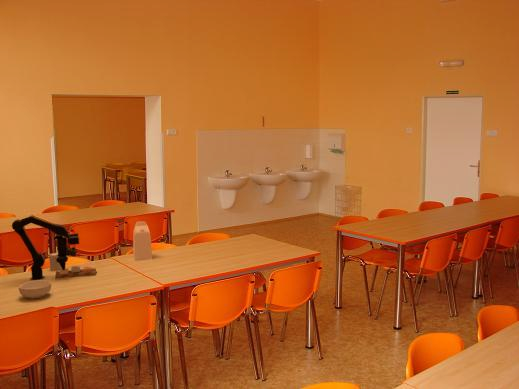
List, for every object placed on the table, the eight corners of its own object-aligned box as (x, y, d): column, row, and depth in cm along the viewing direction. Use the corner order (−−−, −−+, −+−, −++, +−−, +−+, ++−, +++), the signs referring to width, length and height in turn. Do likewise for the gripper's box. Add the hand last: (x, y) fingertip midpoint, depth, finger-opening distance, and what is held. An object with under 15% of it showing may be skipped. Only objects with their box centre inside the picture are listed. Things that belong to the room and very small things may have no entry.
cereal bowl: (12, 299, 302) (11, 287, 301) (34, 290, 317) (34, 278, 316) (37, 302, 296) (36, 289, 295) (58, 293, 311) (57, 281, 310)
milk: (150, 255, 396) (148, 219, 392) (152, 258, 385) (150, 222, 381) (133, 256, 392) (131, 221, 388) (135, 260, 381) (133, 223, 378)
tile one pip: (59, 275, 343) (59, 271, 343) (60, 273, 348) (60, 269, 348) (68, 274, 344) (67, 270, 344) (68, 272, 349) (68, 268, 349)
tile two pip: (71, 272, 345) (71, 268, 344) (71, 270, 350) (71, 266, 349) (79, 271, 346) (79, 267, 346) (80, 269, 351) (79, 265, 351)
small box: (61, 267, 368) (59, 251, 367) (65, 268, 365) (64, 253, 363) (49, 269, 362) (48, 254, 361) (54, 271, 358) (53, 255, 357)
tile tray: (55, 278, 340) (55, 275, 340) (56, 274, 350) (56, 271, 350) (95, 275, 347) (95, 272, 346) (96, 271, 356) (95, 268, 356)
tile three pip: (83, 273, 347) (83, 268, 346) (83, 271, 352) (83, 267, 351) (91, 272, 348) (91, 268, 348) (91, 270, 353) (91, 266, 353)
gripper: (74, 247, 337) (76, 272, 339) (76, 241, 355) (78, 265, 357) (55, 249, 334) (57, 274, 336) (58, 242, 352) (59, 266, 354)
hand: (63, 269), depth 346 cm, fingers closed, pressing on tile one pip
